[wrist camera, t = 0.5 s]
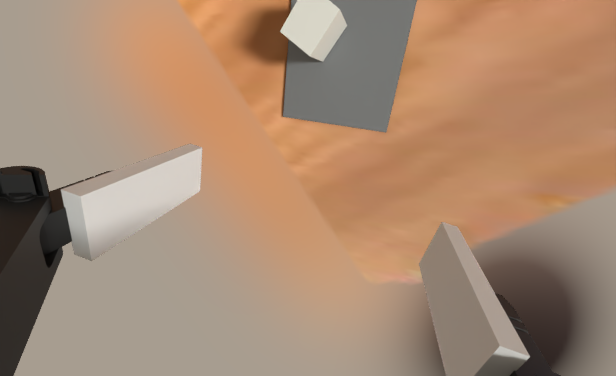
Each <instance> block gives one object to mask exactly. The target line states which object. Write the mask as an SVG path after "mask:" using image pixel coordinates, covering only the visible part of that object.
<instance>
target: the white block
mask: <svg viewBox="0 0 616 376" xmlns="http://www.w3.org/2000/svg"><path fill="white" fill-rule="evenodd" d="M346 27H347V24H346V22H345V19H344V17H343V15H342V13H341V10H340V9H339V8H338V7H337V6H335V5H334V4H333V3H332V2H331V1H329V0H297V2H296V4H295V6H294V7H293V9H292V11H291V13H290V14H289V16H288V18H287V20H286V22H285V23H284V25H283V27H282V29H281V30H280V32H281V33H282V34H283V35H285V36H286V37H287V38H288V39H290V40H291V41H292V42H293V43H294V44H296V45H297V46H298V47H299V48H300V49H302V50H303V51H304V52H305V53H306V54H308V55H309V56H310V57H313V58H315V59H317V60H320V61H322V62H323V61H324V60H325V58H326V57H327V55H328V54H329V52H330V51H331V49H332V48H333V46H334V45H335V43H336V42H337V40H338V39H339V38H340V36H341V35H342V33H343V32H344V30H345V29H346Z"/></svg>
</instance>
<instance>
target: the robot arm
mask: <svg viewBox="0 0 616 376" xmlns="http://www.w3.org/2000/svg"><path fill="white" fill-rule="evenodd" d="M201 161H202V147H199V146H196V145H193V144H187V145H185V146H182V147H179V148H176V149H174V150H171V151H168V152H165V153H162V154H159V155H156V156H153V157H151V158H148V159H145V160H142V161H139V162H137V163H134V164H131V165H128V166H125V167H122V168H120V169H117V170H114V171H107V172H104V173H101V174H99V175H96V176H95V177H90V178H87V179H85V181H84V180H82V181H79V182H76V183H73V184H70V185H67V186H65V187H62V188H59V189H56V190H53V191H50V192H49V189H48V185H47V180H46V176H45V172H44V171H43V170H42V169H40V168H36V167H30V166H13V167H6V168H0V376H13V375H14V373H15V370H16V368H17V365H18V363H19V361H20V358H21V356H22V353H23V351H24V348H25V346H26V344H27V341H28V339H29V336H30V334H31V331H32V329H33V326H34V324H35V322H36V319H37V317H38V314H39V312H40V309H41V307H42V304H43V302H44V299H45V297H46V295H47V292H48V290H49V287H50V285H51V282H52V280H53V277H54V275H55V273H56V270H57V268H58V265H59V263H60V260H61V258H62V255H63V250H62V246H64V245H66V244H68V243H69V242H71V241H72V246H73V251H74V254H75V255H78V256H80V257H83V258H85V259H88V260H90V261H92V260H94V259H96V258H97V257H99V256H100V255H102V254H103V253H105V252H106V251H108V250H110V249H111V248H113V247H114V246H116V245H117V244H119V243H120V242H122V241H123V240H125V239H126V238H128V237H129V236H131V235H133V234H134V233H136V232H137V231H139V230H140V229H142V228H143V227H145V226H146V225H148V224H150V223H151V222H153V221H154V220H156V219H157V218H159V217H160V216H162V215H164V214H165V213H167V212H168V211H170V210H171V209H173V208H174V207H176V206H178V205H179V204H181V203H182V202H184V201H185V200H187V199H188V198H190V197H191V196H193V195H194V194H196V193H198V192H199V191H200V180H201V179H200V178H201ZM419 266H420V270H421V274H422V278H423V282H424V286H425V291H426V295H427V299H428V303H429V307H430V311H431V315H432V319H433V324H434V328H435V332H436V336H437V340H438V344H439V349H440V353H441V357H442V361H443V365H444V369H445V373H446V376H560V375H558V374H556V373H554V372H553V371H552V370H551V368H550V367H549V365H548V363H547V362H546V360H545V358H544V357H543V355H542V353H541V352H540V350H539V349H538V347H537V345H536V344H535V342H534V340H533V339H532V337H531V335H530V334H528V330H527V329H526V327H525V325H524V324H523V323H521V319H520V317H519V316H518V314H517V312H516V311H515V309H514V308H513V307H512V306H511V305H510V303H508V301H507V300H506V299H505V298H504V297H503V296H502V295H499V294H496V293H494V291H493V289H492V288H491V286H490V284H489V283H488V281H487V279H486V277H485V275H484V273H483V272H482V270H481V268H480V266H479V264H478V263H477V261H476V259H475V257H474V256H473V254H472V252H471V250H470V248H469V246H468V245H467V243H466V241H465V239H464V238H463V236H462V234H461V232H460V230H459V229H458V227H457V226H453V225H450V224H447V223H444V222H441V224H440V226H439V228H438V230H437V232H436V233H435V235H434V237H433V239H432V241H431V243H430V245H429V246H428V248H427V250H426V252H425V254H424V256H423V258H422V259H421V261H420V263H419Z"/></svg>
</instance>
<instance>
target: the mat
mask: <svg viewBox="0 0 616 376" xmlns="http://www.w3.org/2000/svg"><path fill="white" fill-rule="evenodd" d="M329 1H331V2H332V3H333V4H334V5H335V6H337V7H338V8H339V9H340V10H341V13H342V15H343V17H344V19H345V22H346V24H347V27H346V29H345V30H344V32H343V33H342V35H341V36H340V38H339V39H338V40H337V42H336V43H335V45H334V46H333V48H332V49H331V51H330V52H329V54H328V55H327V57H326V58H325V60H324V61H323V62H322V61H320V60H317V59H315V58H313V57H310V56H309V55H308V54H306V53H305V52H304V51H303V50H302V49H300V48H299V47H298V46H297V45H296V44H294V43H293V42H292V41H291V40H290V39H289V42H288V56H287V69H286V83H285V97H284V111H283V117H289V118H295V119H302V120H308V121H315V122H322V123H328V124H335V125H341V126H348V127H354V128H361V129H368V130H374V131H381V132H386V131H387V127H388V123H389V118H390V114H391V110H392V105H393V101H394V97H395V92H396V88H397V84H398V79H399V75H400V71H401V66H402V62H403V58H404V54H405V49H406V45H407V41H408V36H409V32H410V28H411V23H412V19H413V15H414V10H415V6H416V2H417V0H329ZM296 2H297V0H291V11H292V9H293V7H294V6H295V4H296Z"/></svg>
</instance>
